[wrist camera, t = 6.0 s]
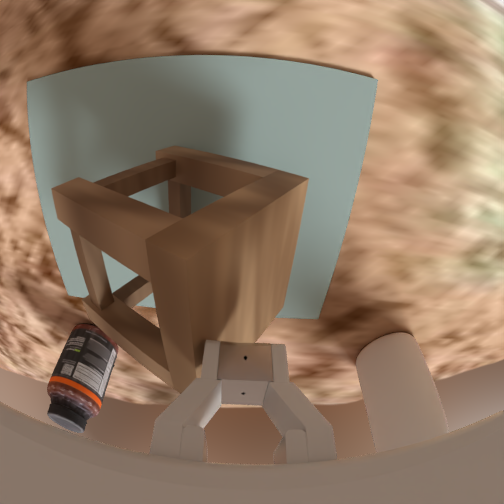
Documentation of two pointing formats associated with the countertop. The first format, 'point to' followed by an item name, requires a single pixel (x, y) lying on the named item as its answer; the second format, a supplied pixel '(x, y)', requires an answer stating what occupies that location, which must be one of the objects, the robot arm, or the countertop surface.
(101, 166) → the mat
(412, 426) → the milk bottle
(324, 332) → the countertop surface
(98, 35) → the countertop surface
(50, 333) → the countertop surface
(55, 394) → the supplement bottle
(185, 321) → the open wooden box
